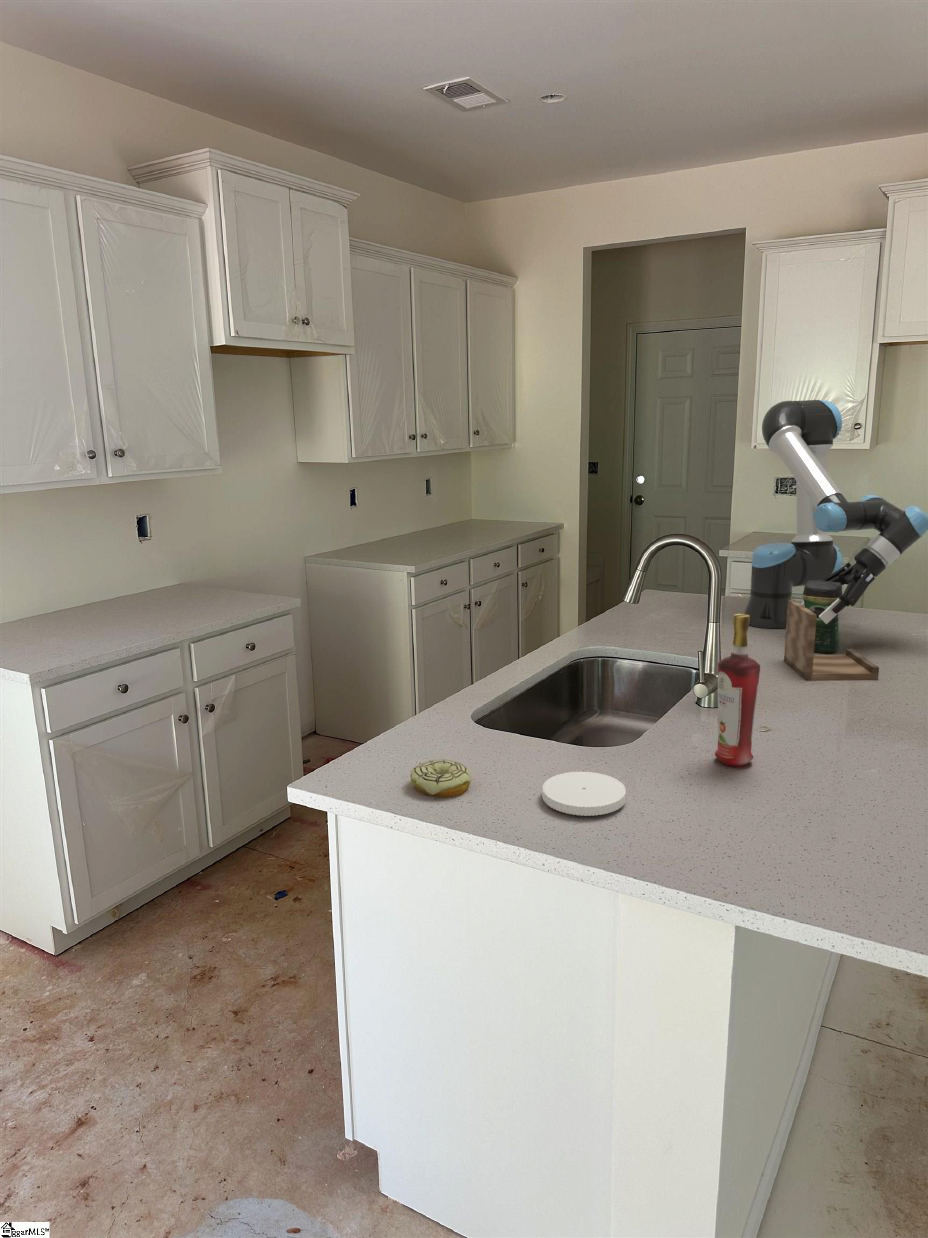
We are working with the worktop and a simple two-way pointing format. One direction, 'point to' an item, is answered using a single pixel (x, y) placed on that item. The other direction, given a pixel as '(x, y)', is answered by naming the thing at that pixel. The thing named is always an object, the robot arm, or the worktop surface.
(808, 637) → the wooden board stand
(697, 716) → the worktop surface
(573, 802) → the plastic lid
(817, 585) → the coffee jar
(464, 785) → the decorated donut
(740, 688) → the liquor
